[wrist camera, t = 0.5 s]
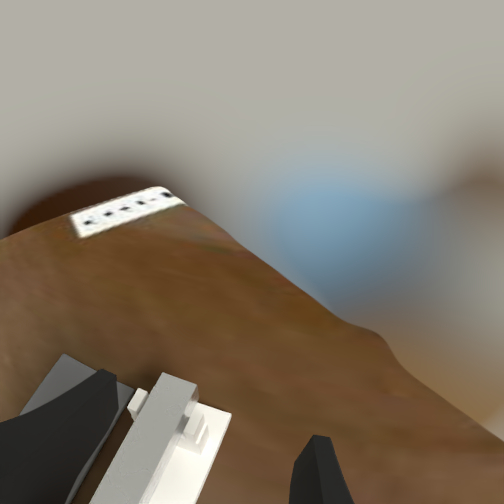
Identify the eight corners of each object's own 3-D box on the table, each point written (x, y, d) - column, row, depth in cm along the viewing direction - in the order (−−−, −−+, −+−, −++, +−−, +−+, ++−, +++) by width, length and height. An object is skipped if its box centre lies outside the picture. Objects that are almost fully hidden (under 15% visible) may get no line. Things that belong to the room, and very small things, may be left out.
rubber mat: (29, 582, 9) (27, 582, 8) (-39, 517, 10) (-41, 516, 10) (134, 390, 29) (133, 389, 28) (64, 355, 31) (63, 353, 30)
